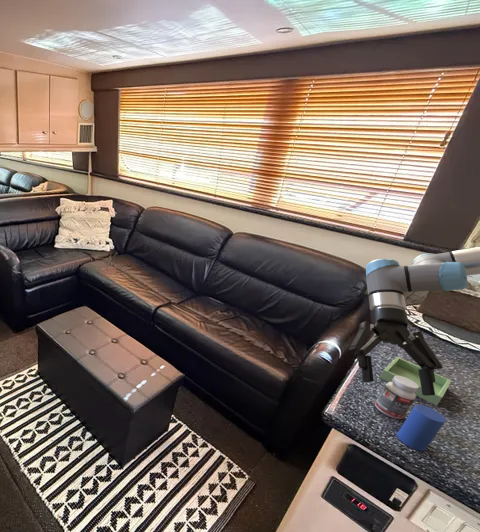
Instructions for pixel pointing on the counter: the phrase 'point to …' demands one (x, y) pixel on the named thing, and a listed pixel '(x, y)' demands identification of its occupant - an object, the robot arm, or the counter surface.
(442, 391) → the sage tray
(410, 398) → the pill bottle
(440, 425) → the blue cylinder
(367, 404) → the counter surface
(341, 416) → the counter surface
